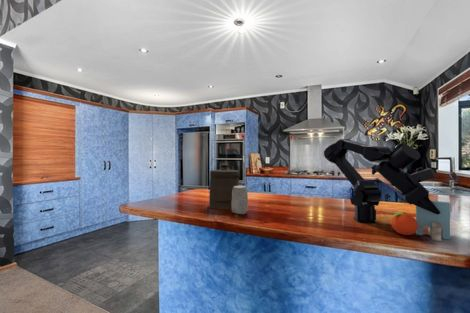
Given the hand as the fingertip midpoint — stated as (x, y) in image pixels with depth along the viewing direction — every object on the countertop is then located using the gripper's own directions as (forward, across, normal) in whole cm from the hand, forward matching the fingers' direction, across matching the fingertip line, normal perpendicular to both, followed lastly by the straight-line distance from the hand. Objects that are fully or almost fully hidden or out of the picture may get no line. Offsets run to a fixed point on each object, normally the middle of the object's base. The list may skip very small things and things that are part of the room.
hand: (438, 212), depth 72 cm
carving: (-42, -12, +53) cm, 69 cm away
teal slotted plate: (+4, 0, +6) cm, 8 cm away
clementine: (-1, -4, +12) cm, 13 cm away
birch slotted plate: (+5, 0, +6) cm, 8 cm away
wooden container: (-52, -5, +63) cm, 82 cm away
